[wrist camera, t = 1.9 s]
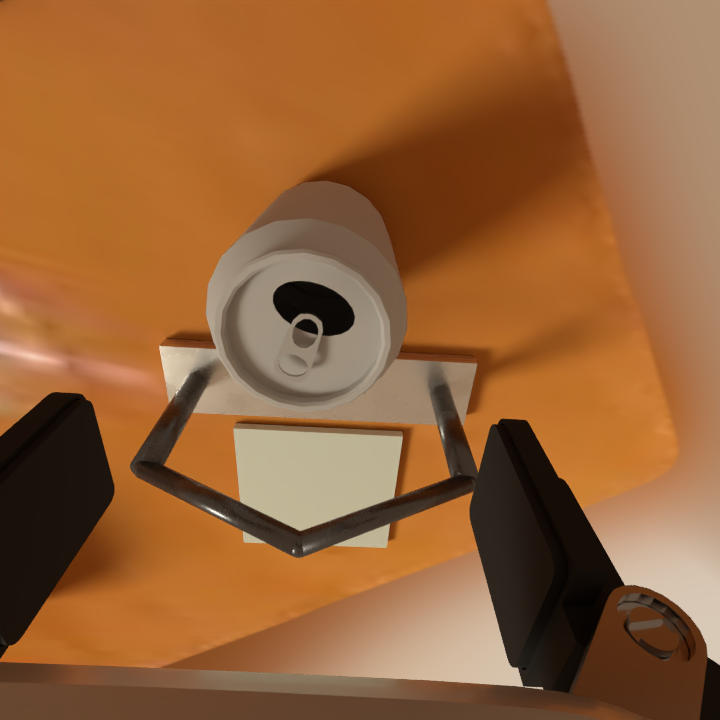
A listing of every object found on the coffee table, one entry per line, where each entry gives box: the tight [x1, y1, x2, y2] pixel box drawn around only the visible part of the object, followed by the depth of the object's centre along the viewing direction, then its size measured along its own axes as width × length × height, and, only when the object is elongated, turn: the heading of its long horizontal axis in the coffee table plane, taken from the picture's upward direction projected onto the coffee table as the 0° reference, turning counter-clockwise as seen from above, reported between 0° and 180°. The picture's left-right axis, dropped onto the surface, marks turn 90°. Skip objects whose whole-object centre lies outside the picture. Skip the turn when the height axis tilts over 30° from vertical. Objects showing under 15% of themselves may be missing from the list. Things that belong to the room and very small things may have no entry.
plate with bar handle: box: [130, 339, 478, 558], centre depth 24 cm, size 5×20×14 cm, turn 86°
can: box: [206, 181, 407, 412], centre depth 20 cm, size 8×8×12 cm
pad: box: [234, 423, 403, 548], centre depth 34 cm, size 12×12×1 cm
